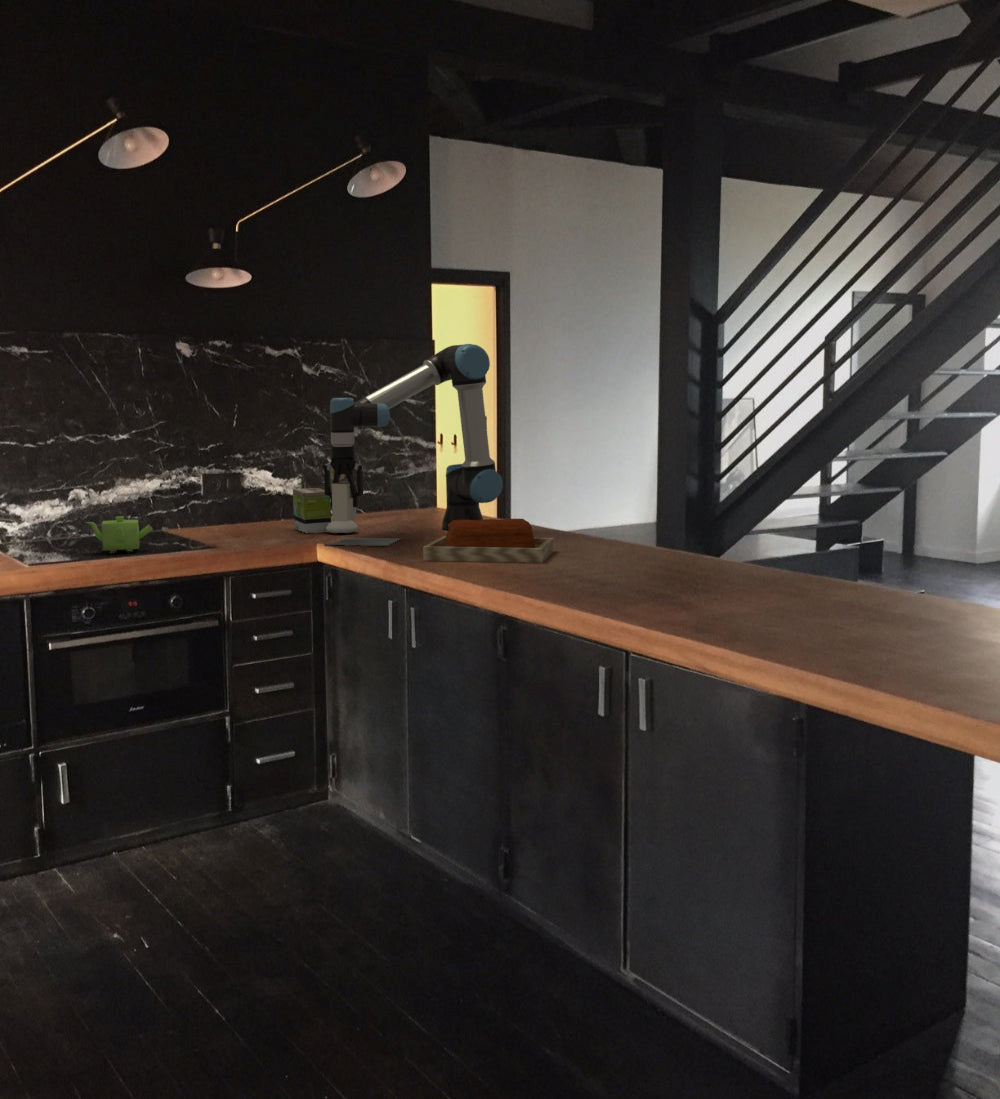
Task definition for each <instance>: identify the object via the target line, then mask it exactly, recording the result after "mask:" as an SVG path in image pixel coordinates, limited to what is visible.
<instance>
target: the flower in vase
mask: <svg viewBox="0 0 1000 1099" xmlns="http://www.w3.org/2000/svg"><path fill="white" fill-rule="evenodd" d="M330 462H331V461H329V462H328V463H326V464H325V465H327V464H330ZM322 473H323V474H324V470H323V469H322ZM334 473H335V471H334V469H333V468H332V467H331V470H330V480H332V481H333V479H334ZM345 476H346V475H345V474H341V476H340V479H339V481H341V480H343V479H345ZM330 486H331V488H332V483H330ZM322 490H325V486H324V487H323V489H322ZM326 530H327V531H328V532H327V533H332V534H337V533H345V534H351V533H354V532H357V531H358V530H359V526H358V524H356V523H355V521H353V520H350V521H333V520H331V523H329V524H328V526H327V527H326Z"/></svg>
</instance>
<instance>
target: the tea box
mask: <svg viewBox="0 0 1000 1099" xmlns="http://www.w3.org/2000/svg"><path fill="white" fill-rule="evenodd" d="M292 502H293V503H292V505H293V507H292V508H293V523H294V524H293V525H294V530H297V531H299V532H301V531H302V533H303V532H305V533H308V532H325V531H327V530H326V527H327V526H328V524H329V523H331V522H332V512H331V511H332V510H331V509H332V507H331V500H330V496H328V495H325V489H322V488H318V487H317V488H316V487H315V488H314V487H313V488H310V487H309V488H298V489H297V488H296V489H292Z"/></svg>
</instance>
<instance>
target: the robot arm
mask: <svg viewBox="0 0 1000 1099" xmlns="http://www.w3.org/2000/svg"><path fill="white" fill-rule="evenodd" d="M490 363H491V362H490V357H489V354H488V352H487V351H486V350H485V349H484V348H483V347H481V346H480V345H478V344H473V343H464V344H453V345H450V346H447V347H445V348H443V349H442V350H440V351H438V352H437V353H435V354H433V355H432V356H430V357H429V358H427V359H425V360H424V361H423V363H422V365H420V366H419V367H417V368H415V369H413V370H411V371H409V372H408V373H406V374H404V375H402V376H401V377H398V378H396V379H395V380H393V381H392V382H389V383H388V384H386V385H384V386H383V387H381V388H379V389H377V390H375V391H373V392H372V393H370V394H368V395H366V396H364V397H363V398H361V399H359V400H357V401H354V398H352V397H332V398H331V399H330V404H329V405H330V406H329V414H330V445H332V447H331V450H330V452H331V461H329V462H330V464H328V463H326V464H327V465H326V464H323V465H322V470H324V473H323V475H324V477H323V478H324V479H323V480H324V484H323V485H324V487H325V489H324V490H325V495H328V496H330V504H331V508H332V488H331V486H330V484H331V479H330V470H331V467H332V468H333V469H334V471H335V473H334V479H333V480H332V484H333V483H338V482H340V480H339V479H340V476H341V474H345V476H346V478H347V482H349V483H350V490H351V493H352V497H351V498H350V517H351V518H353V517H355V507H356V508H357V507H358V506H359V500H358V498H359V497H361V496H362V495H364V477H363V474H364V473H363V472H364V469H365V465H364V464H359V463H357V461H356V456H355V455H356V452H355V448H356V447H355V446H354V445H355V428H361V427H362V428H363V427H365V428H366V427H367V428H369V427H370V428H371V427H372V428H373V427H375V428H376V427H377V428H380V427H386V426H388V424H389V422H390V416H391V413H390V409H392V408H394V407H396V406H397V405H399V404H401V403H403V402H404V401H406V400H408V399H409V398H412V397H413V396H415V395H417V394H419V393H421V392H422V391H424V390H426V389H428V388H429V387H431V386H433V385H434V386H439V385H441V384H443V383H445V382H448V381H451V386H452V388H454V389H455V390H456V391H457V400H458V408H459V418H460V426H461V434H462V435H461V436H462V444H463V452H464V462H462V463H457V464H451V465H448V466H447V467H446V471H445V487H446V488H445V490H446V507H445V508H446V509H445V513H444V515H443V519H442V521H441V528H442V530H445V531H448V530H449V527H448V524H450V523H451V522H452V521H453V520H483V519H484V517H483V514H482V511H481V509H480V504H488V503H491V502H493V501H496V500H497V498H498V497H499V496H500V495H501V493H502V491H503V487H504V486H503V479H502V475H501V474H500V473H499V472H497V470H496V463H495V462H496V461H494V459H492V458H491V456H490V455H491V454H490V448H489V447H490V446H489V438H488V429H487V427H488V426H487V420H486V419H487V418H486V411H485V402H484V392H483V391H484V390H483V388H484V386H485V385H486V384H487V377H486V375H487V373H488V371H489V370H490V367H491V366H490V365H491V364H490ZM354 469H355V470H356V481H355V479H354V472H353V470H354ZM356 485H357V486H356Z"/></svg>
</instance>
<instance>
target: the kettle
mask: <svg viewBox="0 0 1000 1099" xmlns="http://www.w3.org/2000/svg"><path fill="white" fill-rule="evenodd" d="M124 518H125V516H124V515H123V516H120V515H119V516H115V519H114V520H113V519H112V520H103V521H102V522H101V531H100V530H99V528H98V526H97V524H96V523H95V522H94V521H85V524H88V525H89V526H90V527H91V528H92V530H93V533H94V535H95V537H96V539H98V540H99V541H100V542H102V551H116V552H117V551H119V550H125V551H126V552H127V551H133V549H134V550H139V549H140V539H142V538H143V537H145V536H146V535H148V534H149V533H150V532H152V531H153V530H154V529H153V528H152V526H151V525H150V524H147V525H146V526H145V527H143V528H142V529H141V530H140V528H139V527H140V525H139V519H124Z"/></svg>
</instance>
